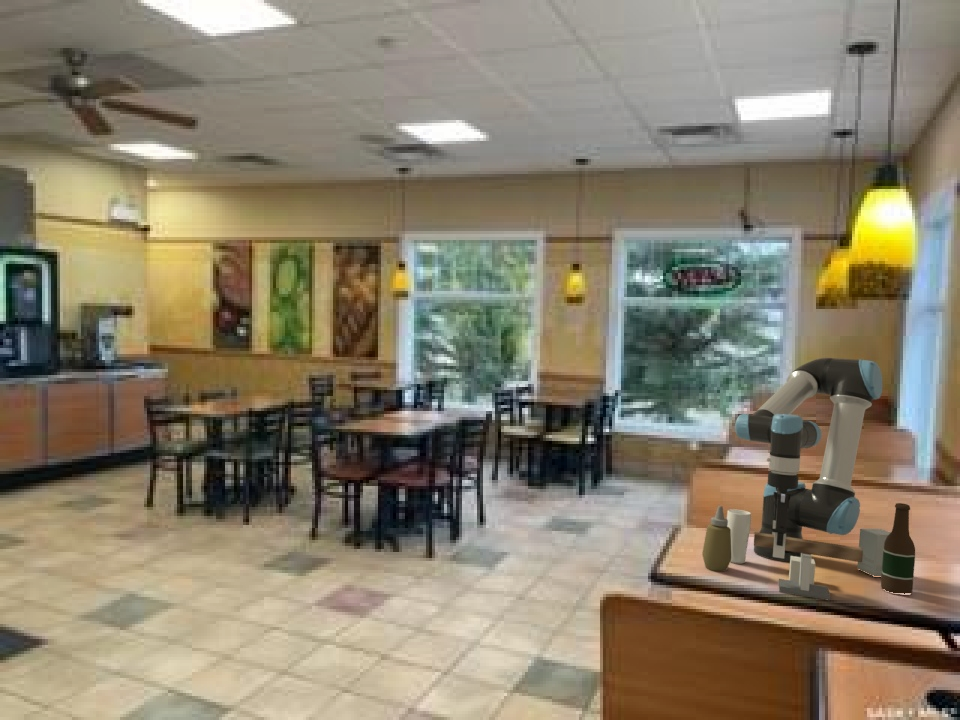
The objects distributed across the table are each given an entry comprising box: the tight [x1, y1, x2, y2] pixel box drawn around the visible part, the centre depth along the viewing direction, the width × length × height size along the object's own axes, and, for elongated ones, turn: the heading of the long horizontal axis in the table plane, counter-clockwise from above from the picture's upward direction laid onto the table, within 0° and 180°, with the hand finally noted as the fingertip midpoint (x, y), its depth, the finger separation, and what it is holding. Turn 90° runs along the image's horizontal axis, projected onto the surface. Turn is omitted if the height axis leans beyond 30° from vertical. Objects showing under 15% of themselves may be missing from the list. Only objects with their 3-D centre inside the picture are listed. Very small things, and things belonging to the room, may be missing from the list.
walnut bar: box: [753, 531, 863, 563], centre depth 189 cm, size 26×3×3 cm, turn 69°
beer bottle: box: [880, 502, 916, 594], centre depth 194 cm, size 8×8×24 cm
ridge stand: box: [778, 553, 831, 601], centre depth 189 cm, size 12×7×11 cm, turn 69°
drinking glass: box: [726, 508, 752, 565], centre depth 213 cm, size 7×7×15 cm
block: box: [788, 556, 816, 584], centre depth 198 cm, size 6×5×6 cm
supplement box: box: [856, 528, 892, 576], centre depth 210 cm, size 7×7×13 cm
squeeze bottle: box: [701, 505, 731, 572], centre depth 205 cm, size 8×8×18 cm
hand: (777, 551), depth 191 cm, fingers open, 13 cm apart
